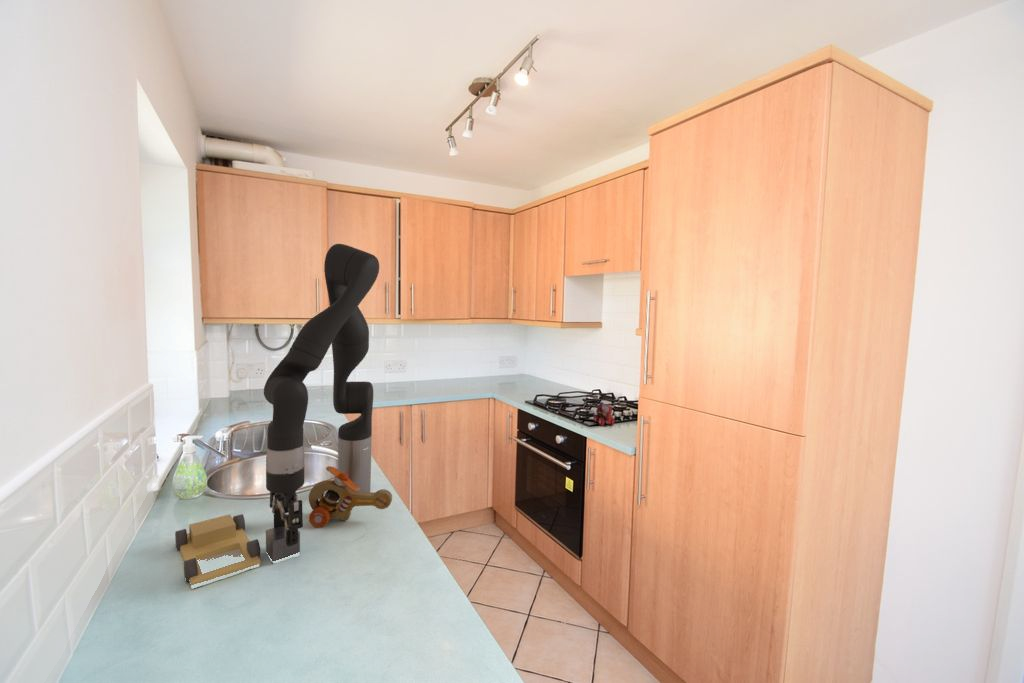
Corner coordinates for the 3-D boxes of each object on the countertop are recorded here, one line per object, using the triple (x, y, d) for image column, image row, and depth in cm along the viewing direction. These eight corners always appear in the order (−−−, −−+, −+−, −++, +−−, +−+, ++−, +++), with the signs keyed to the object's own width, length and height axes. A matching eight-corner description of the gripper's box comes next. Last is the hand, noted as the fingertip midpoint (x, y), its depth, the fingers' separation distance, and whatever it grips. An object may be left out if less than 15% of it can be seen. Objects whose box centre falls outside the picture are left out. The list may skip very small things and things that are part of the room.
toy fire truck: (603, 420, 224) (605, 399, 223) (615, 427, 212) (617, 406, 211) (591, 420, 222) (592, 400, 221) (602, 427, 210) (604, 406, 209)
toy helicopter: (315, 512, 118) (315, 462, 117) (394, 512, 120) (395, 464, 119) (303, 528, 110) (303, 475, 109) (388, 528, 112) (389, 476, 111)
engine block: (265, 553, 99) (265, 530, 99) (292, 544, 103) (292, 522, 103) (272, 565, 95) (272, 541, 95) (299, 555, 99) (300, 532, 99)
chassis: (174, 543, 101) (174, 524, 101) (240, 525, 110) (240, 507, 109) (188, 591, 86) (187, 569, 85) (262, 566, 95) (262, 546, 94)
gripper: (257, 460, 99) (257, 529, 101) (277, 480, 89) (277, 556, 91) (292, 453, 105) (292, 518, 106) (315, 471, 94) (314, 544, 96)
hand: (285, 536), depth 98 cm, fingers open, 8 cm apart
